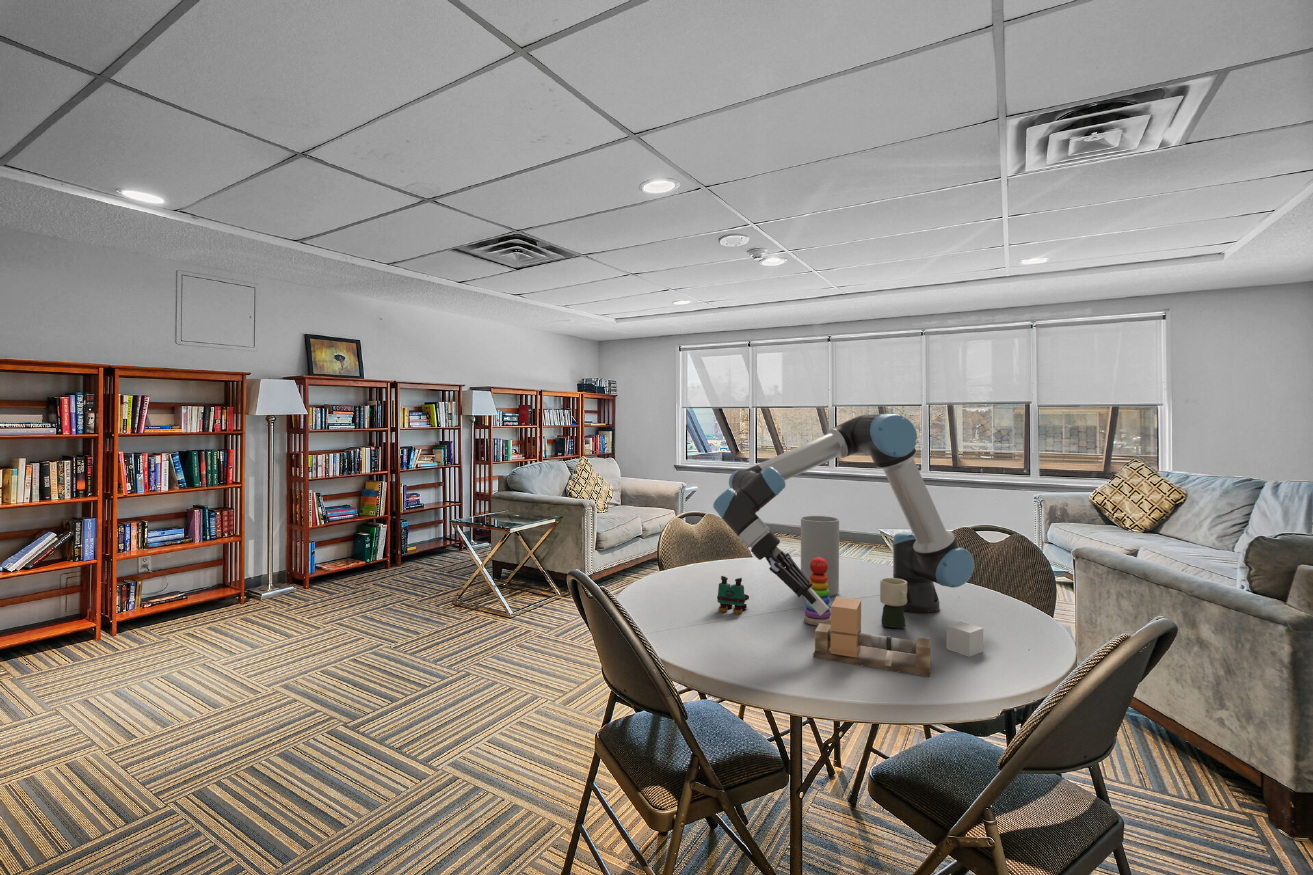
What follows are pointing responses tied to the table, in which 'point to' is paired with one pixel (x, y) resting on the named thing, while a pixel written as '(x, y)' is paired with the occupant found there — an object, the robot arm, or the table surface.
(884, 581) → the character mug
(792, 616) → the table surface
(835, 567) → the cylinder vase
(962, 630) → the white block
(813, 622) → the stacking toy
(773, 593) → the table surface
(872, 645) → the pipe stand
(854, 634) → the wooden block
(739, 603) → the binoculars
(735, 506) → the robot arm
